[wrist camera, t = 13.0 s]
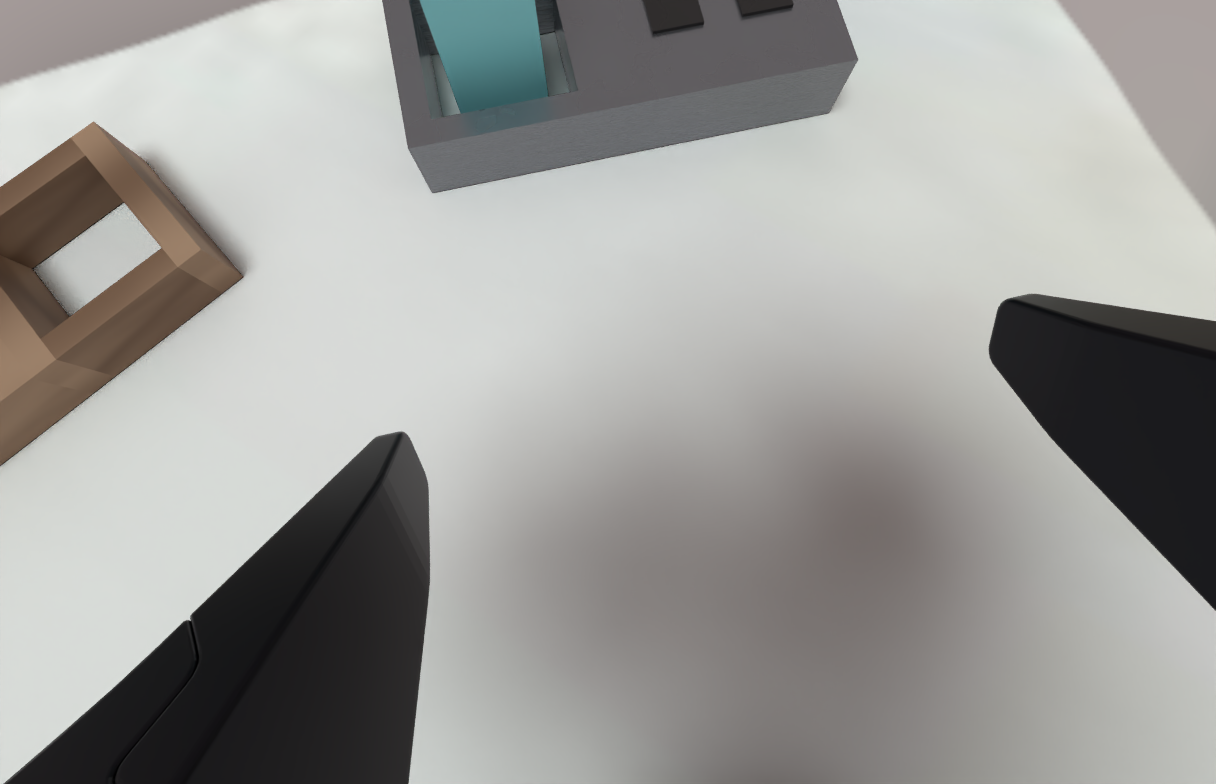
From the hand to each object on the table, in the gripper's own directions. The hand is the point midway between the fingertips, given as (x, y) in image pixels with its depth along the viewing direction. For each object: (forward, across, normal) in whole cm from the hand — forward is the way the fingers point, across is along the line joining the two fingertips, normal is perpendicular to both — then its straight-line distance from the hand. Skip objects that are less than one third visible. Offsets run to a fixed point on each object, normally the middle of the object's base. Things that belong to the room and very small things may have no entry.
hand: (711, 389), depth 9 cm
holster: (+17, +22, +3) cm, 28 cm away
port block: (+21, -2, -2) cm, 22 cm away
